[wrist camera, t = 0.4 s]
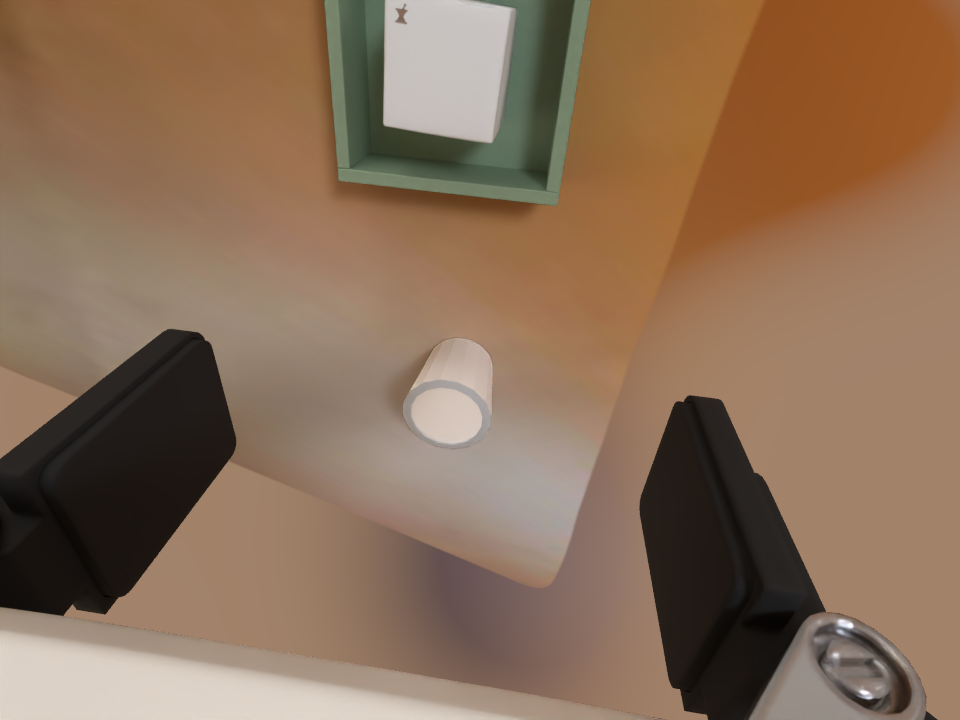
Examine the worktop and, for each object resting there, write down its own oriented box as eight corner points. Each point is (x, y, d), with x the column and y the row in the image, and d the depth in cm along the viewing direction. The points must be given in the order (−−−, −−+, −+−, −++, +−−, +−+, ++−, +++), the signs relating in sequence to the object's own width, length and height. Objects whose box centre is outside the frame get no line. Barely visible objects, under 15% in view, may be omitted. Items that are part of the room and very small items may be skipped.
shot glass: (513, 381, 45) (507, 435, 39) (447, 405, 47) (431, 459, 41) (475, 319, 42) (462, 368, 36) (407, 348, 44) (384, 398, 38)
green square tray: (349, -96, 28) (314, -116, 24) (598, -76, 27) (606, -92, 23) (363, 162, 36) (338, 181, 32) (557, 183, 35) (557, 206, 31)
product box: (411, 106, 33) (378, 127, 27) (417, -10, 29) (381, -16, 23) (505, 122, 33) (493, 146, 27) (522, 7, 29) (513, 5, 23)
